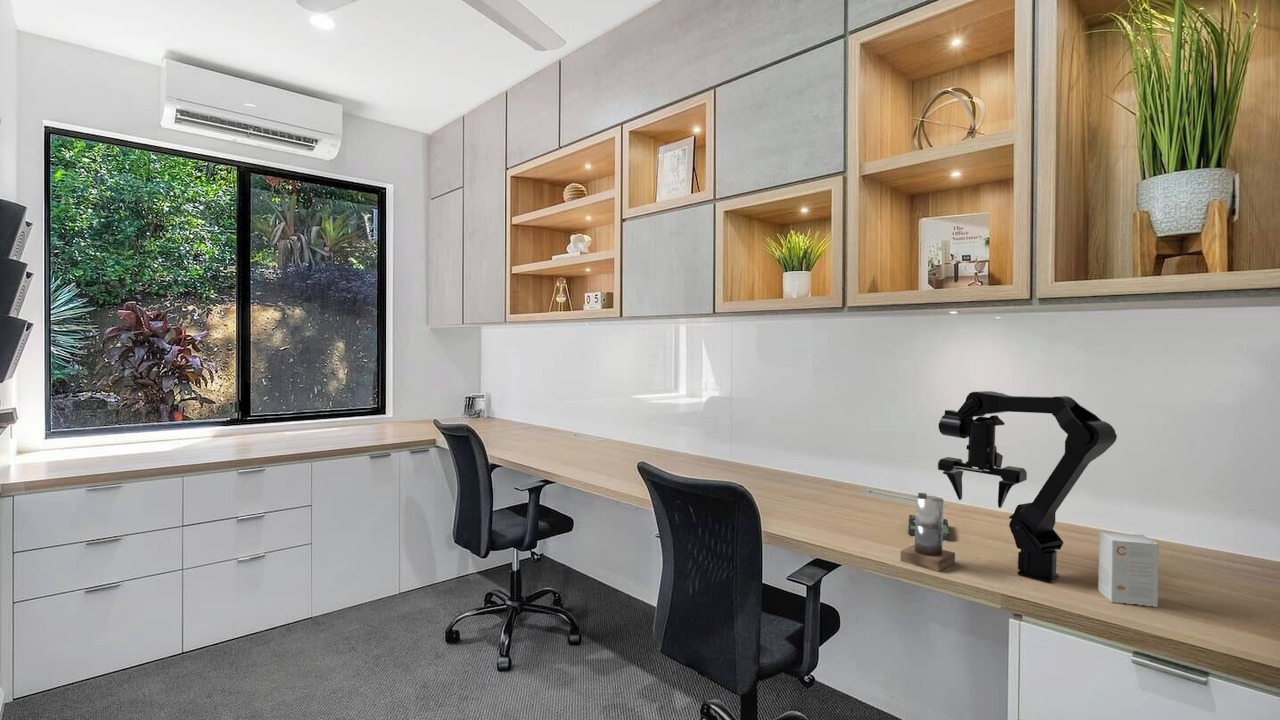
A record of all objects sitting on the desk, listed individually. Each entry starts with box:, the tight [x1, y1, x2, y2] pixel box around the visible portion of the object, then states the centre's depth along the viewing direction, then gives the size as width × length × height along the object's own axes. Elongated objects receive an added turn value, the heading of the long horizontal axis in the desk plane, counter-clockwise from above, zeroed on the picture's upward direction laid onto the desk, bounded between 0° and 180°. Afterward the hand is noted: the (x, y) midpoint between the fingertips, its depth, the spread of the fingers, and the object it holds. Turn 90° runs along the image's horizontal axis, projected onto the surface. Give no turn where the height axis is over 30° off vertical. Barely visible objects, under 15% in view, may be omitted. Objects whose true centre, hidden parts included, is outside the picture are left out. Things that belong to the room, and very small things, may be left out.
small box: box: [1097, 531, 1160, 608], centre depth 124 cm, size 8×6×13 cm
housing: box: [914, 492, 944, 556], centre depth 144 cm, size 6×6×14 cm
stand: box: [900, 544, 956, 573], centre depth 144 cm, size 9×9×2 cm
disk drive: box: [907, 514, 950, 542], centre depth 169 cm, size 10×3×15 cm
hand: (979, 503), depth 149 cm, fingers open, 9 cm apart
